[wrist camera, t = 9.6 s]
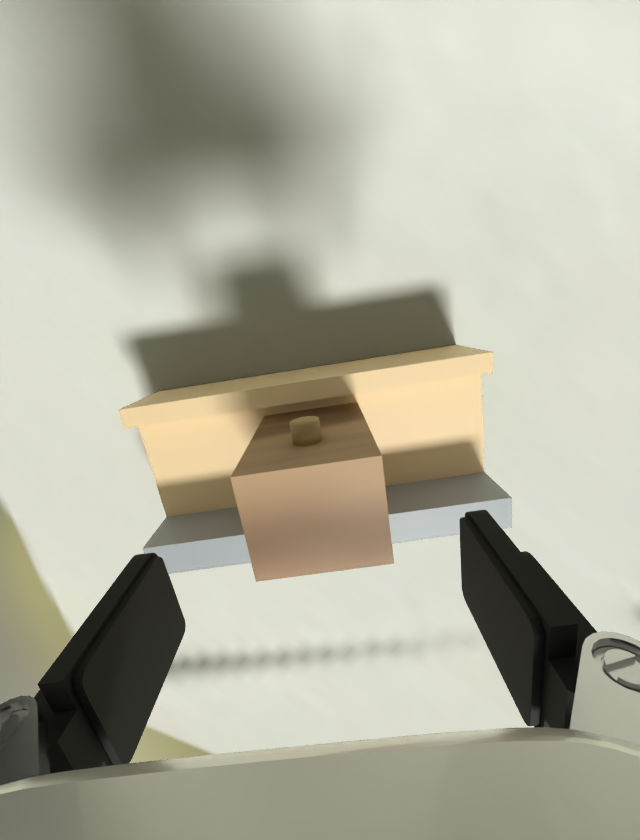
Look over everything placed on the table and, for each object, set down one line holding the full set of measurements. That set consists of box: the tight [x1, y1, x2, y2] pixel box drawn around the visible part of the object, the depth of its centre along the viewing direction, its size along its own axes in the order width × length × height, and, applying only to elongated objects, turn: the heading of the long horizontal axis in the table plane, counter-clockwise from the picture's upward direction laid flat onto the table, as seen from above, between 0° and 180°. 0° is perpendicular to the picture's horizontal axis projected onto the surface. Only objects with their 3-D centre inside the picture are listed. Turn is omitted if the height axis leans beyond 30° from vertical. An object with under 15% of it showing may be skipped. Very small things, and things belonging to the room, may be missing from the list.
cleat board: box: [118, 345, 512, 574], centre depth 23 cm, size 10×22×8 cm, turn 99°
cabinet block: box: [230, 402, 394, 582], centre depth 19 cm, size 6×6×9 cm
